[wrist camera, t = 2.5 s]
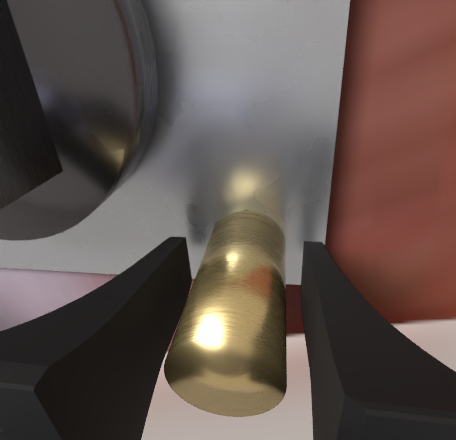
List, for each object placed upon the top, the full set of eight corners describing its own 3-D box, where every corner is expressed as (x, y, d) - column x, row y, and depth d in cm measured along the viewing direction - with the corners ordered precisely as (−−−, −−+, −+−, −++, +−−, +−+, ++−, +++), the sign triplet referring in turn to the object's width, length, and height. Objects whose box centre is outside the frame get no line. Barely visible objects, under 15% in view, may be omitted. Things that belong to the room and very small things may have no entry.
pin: (214, 271, 14) (173, 409, 9) (207, 210, 12) (154, 332, 7) (284, 274, 13) (285, 422, 8) (286, 210, 12) (288, 343, 7)
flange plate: (-59, 252, 18) (-81, 265, 17) (-426, -352, 8) (-526, -406, 7) (318, 270, 14) (320, 289, 13) (412, -701, 5) (444, -889, 4)
